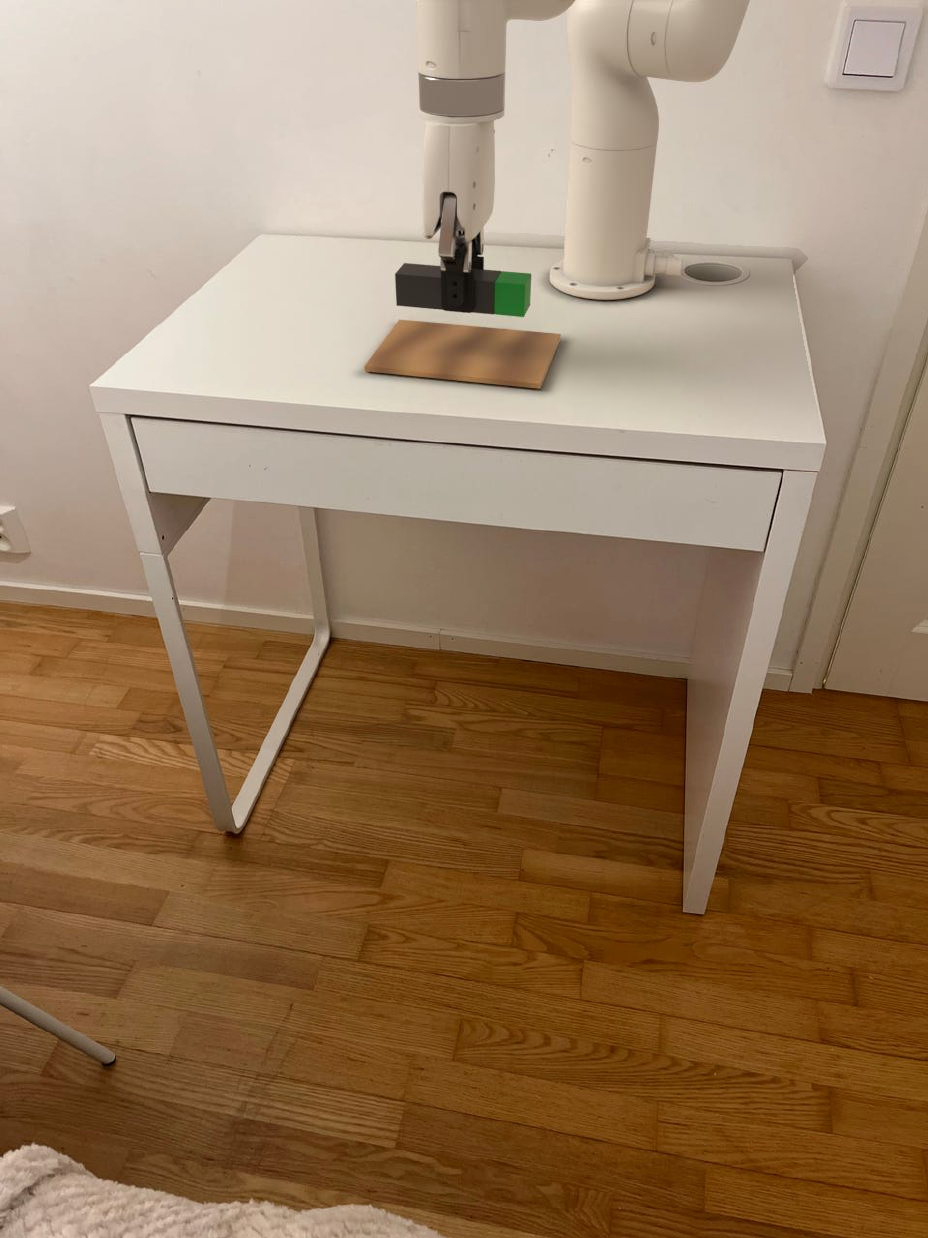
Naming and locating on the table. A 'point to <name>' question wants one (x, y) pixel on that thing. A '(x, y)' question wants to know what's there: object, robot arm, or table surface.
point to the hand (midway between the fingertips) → (462, 301)
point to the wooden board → (466, 353)
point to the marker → (490, 289)
